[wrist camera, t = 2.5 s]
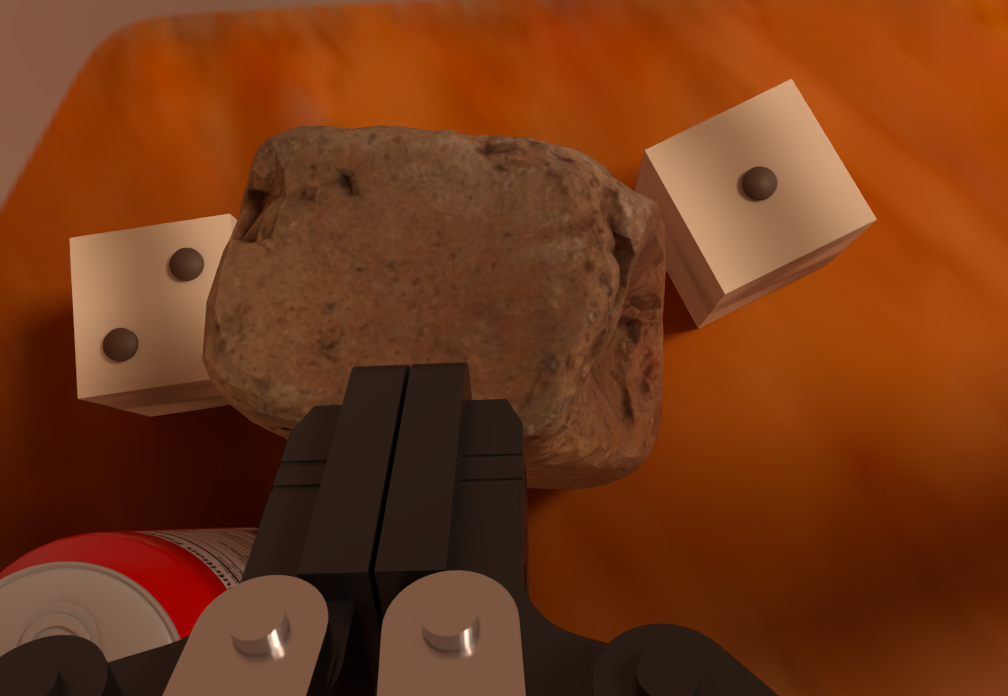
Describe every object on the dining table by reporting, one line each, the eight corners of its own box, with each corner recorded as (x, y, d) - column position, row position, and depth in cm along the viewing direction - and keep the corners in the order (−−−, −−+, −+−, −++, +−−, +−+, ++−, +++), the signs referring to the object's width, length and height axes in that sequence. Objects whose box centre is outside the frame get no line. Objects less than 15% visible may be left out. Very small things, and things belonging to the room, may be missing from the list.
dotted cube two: (278, 259, 39) (228, 212, 33) (291, 396, 38) (241, 373, 32) (141, 279, 39) (66, 236, 33) (151, 416, 38) (75, 397, 32)
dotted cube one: (755, 145, 39) (793, 76, 33) (825, 265, 38) (878, 217, 32) (630, 206, 39) (645, 147, 32) (697, 329, 37) (726, 292, 31)
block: (359, 472, 37) (142, 422, 17) (387, 295, 38) (216, 62, 19) (624, 507, 36) (711, 497, 17) (643, 325, 37) (746, 116, 18)
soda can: (355, 526, 37) (224, 533, 22) (349, 732, 35) (204, 887, 20) (165, 525, 37) (-89, 532, 22) (151, 729, 36) (-131, 879, 21)
